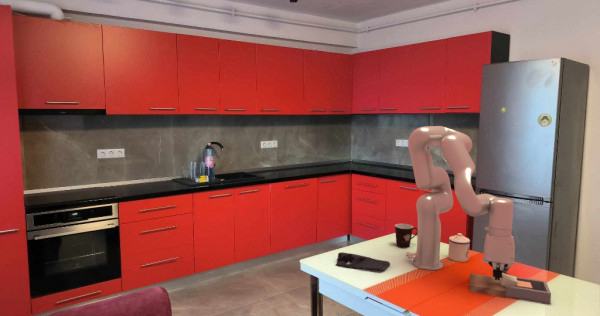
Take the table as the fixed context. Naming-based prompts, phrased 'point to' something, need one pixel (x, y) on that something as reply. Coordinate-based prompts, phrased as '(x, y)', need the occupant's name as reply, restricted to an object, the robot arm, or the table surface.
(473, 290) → the board
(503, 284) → the cream white block
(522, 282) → the salmon orange block
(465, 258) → the teacup with lid
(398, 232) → the coffee mug
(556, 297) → the table surface
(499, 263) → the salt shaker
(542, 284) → the box
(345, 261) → the dark slate chunk
